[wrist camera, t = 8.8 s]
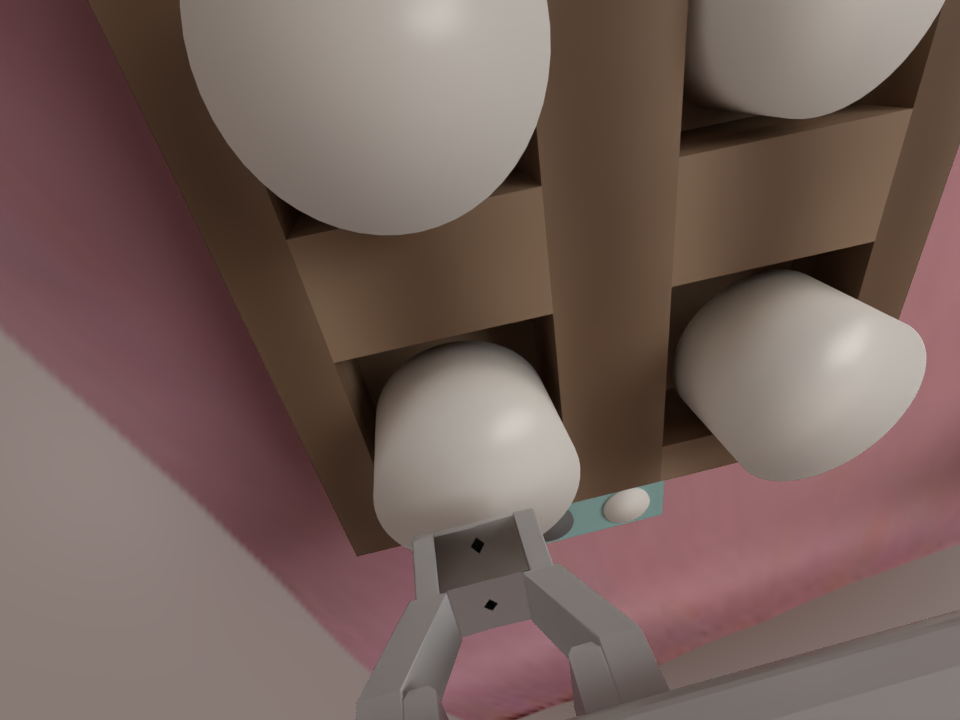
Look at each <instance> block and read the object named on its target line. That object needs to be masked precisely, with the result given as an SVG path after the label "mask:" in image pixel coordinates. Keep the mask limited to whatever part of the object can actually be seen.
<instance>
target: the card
mask: <svg viewBox="0 0 960 720" xmlns="http://www.w3.org/2000/svg"><path fill="white" fill-rule="evenodd" d="M663 493H664V481H660V482H656V483H652V484H648V485H644V486H640V487H636V488H632V489H628V490H624V491H620V492H616V493H612V494H608V495H603V496H599V497H595V498H591V499H587V500H583V501H579V502H575V503H571V505H570V507H569V508H568V510H567V511H566V513H565V514H564V515H563V516H562V517H561V519H560V520H559V521H558V522H557V523H556V524H555V525H554V526H553V527H551V528H550V529H549V530H548V531H547V532H545V533H544V534H543V537H544V540H545V542H546V543H550V542H554V541H558V540H562V539H566V538H570V537H574V536H578V535H582V534H586V533H590V532H594V531H598V530H602V529H606V528H610V527H614V526H618V525H622V524H626V523H630V522H634V521H638V520H642V519H646V518H650V517H654V516H658V515H662V508H663Z"/></svg>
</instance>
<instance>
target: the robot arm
mask: <svg viewBox="0 0 960 720" xmlns="http://www.w3.org/2000/svg"><path fill="white" fill-rule="evenodd" d="M412 547H413V564H414V581H415V597H416V600H414V601H410V602H409V604H408V606H407V608H406V609H405V611H404V613H403V615H402V617H401V619H400V621H399V623H398V625H397V627H396V628H395V630H394V632H393V634H392V636H391V638H390V640H389V642H388V644H387V646H386V647H385V649H384V651H383V653H382V655H381V657H380V659H379V661H378V663H377V665H376V666H375V668H374V670H373V672H372V674H371V676H370V678H369V680H368V682H367V684H366V685H365V687H364V689H363V691H362V693H361V695H360V697H359V699H358V701H357V703H356V720H449V719H448V717H447V715H446V712H445V710H444V708H443V705H442V703H441V700H442V697H443V694H444V691H445V688H446V686H447V683H448V680H449V677H450V674H451V671H452V668H453V665H454V662H455V659H456V657H457V654H458V651H459V648H460V645H461V642H462V638H461V637H465V636H468V635H472V634H475V633H478V632H482V631H485V630H488V629H492V628H495V627H496V626H497V627H499V626H504V625H508V624H512V623H516V622H521V621H525V620H529V619H532V621H533V622H534V623H535V624H536V625H537V626H538V627H539V629H540V630H541V631H542V632H543V633H544V634H545V635H546V636H547V637H548V638H549V639H550V640H551V641H552V642H553V643H554V644H555V645H556V646H557V647H558V649H559V650H560V651H561V652H562V653H563V654H564V655H565V656H566V657H567V658H568V659H569V665H570V674H571V683H572V692H573V700H574V709H575V713H576V716H577V717H573V718H570V719H566V720H960V610H957V611H953V612H950V613H946V614H943V615H939V616H936V617H932V618H928V619H925V620H921V621H918V622H914V623H911V624H907V625H904V626H900V627H896V628H893V629H889V630H885V631H882V632H878V633H875V634H871V635H868V636H864V637H860V638H857V639H853V640H850V641H846V642H842V643H839V644H835V645H832V646H828V647H824V648H821V649H817V650H814V651H810V652H807V653H803V654H799V655H796V656H793V657H789V658H785V659H781V660H778V661H774V662H771V663H767V664H764V665H760V666H756V667H753V668H750V669H746V670H742V671H738V672H735V673H731V674H728V675H724V676H721V677H717V678H713V679H710V680H706V681H703V682H699V683H696V684H692V685H688V686H685V687H681V688H678V689H674V690H670V689H669V687H668V685H667V683H666V681H665V679H664V676H663V674H662V672H661V670H660V668H659V666H658V663H657V661H656V659H655V657H654V655H653V653H652V650H651V648H650V646H649V644H648V642H647V640H646V637H645V635H644V633H643V631H642V629H641V627H640V626H639V625H637V624H636V623H635V622H634V621H632V620H631V619H630V618H628V617H627V616H626V615H625V614H623V613H622V612H621V611H620V610H618V609H617V608H616V607H614V606H613V605H612V604H611V603H609V602H608V601H607V600H605V599H604V598H603V597H602V596H600V595H599V594H598V593H597V592H595V591H594V590H593V589H591V588H590V587H589V586H588V585H586V584H585V583H584V582H582V581H581V580H580V579H579V578H577V577H576V576H575V575H574V574H572V573H571V572H570V571H568V570H567V569H566V568H565V567H563V566H562V565H561V564H559V563H558V564H553V563H552V560H551V557H550V554H549V551H548V548H547V545H546V542H545V540H544V537H543V534H542V531H541V528H540V525H539V522H538V519H537V516H536V514H535V511H534V510H533V508H528V509H524V510H520V511H516V512H513V514H512V512H511V513H507V514H503V515H499V516H496V517H492V518H488V519H484V520H480V521H477V522H473V523H472V524H467V525H463V526H458V527H454V528H449V529H445V530H440V531H436V532H432V533H428V534H423V535H419V536H415V537H413V542H412Z"/></svg>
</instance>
